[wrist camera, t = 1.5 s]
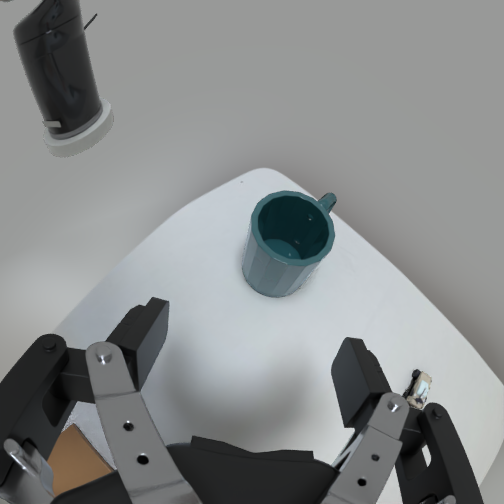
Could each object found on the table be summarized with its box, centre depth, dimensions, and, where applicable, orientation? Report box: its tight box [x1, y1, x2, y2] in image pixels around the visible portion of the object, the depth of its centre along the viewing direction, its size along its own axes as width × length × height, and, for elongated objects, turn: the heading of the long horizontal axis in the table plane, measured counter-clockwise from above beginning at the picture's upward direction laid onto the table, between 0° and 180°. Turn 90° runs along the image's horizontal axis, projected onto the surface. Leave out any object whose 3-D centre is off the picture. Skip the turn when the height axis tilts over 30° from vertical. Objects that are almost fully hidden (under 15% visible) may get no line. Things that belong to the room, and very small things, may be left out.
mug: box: [242, 191, 336, 297], centre depth 24 cm, size 10×6×8 cm
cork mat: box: [47, 424, 114, 497], centre depth 13 cm, size 14×14×1 cm
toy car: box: [403, 369, 432, 409], centre depth 22 cm, size 3×4×2 cm, turn 144°
